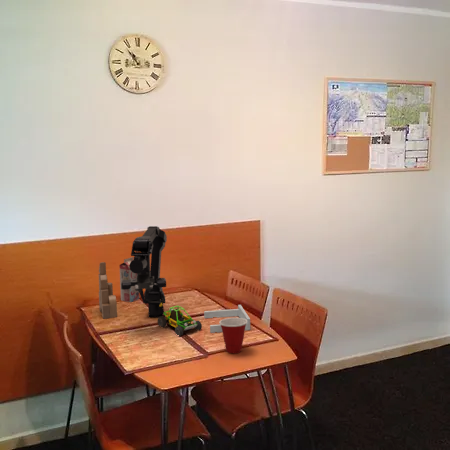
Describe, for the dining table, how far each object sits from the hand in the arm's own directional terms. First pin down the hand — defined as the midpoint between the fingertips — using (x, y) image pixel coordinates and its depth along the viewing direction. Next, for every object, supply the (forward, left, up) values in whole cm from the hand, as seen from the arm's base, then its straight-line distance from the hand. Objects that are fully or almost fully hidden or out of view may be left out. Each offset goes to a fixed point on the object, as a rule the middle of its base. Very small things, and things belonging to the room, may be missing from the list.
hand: (144, 302), depth 206 cm
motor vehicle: (+15, -1, -12) cm, 19 cm away
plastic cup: (+33, -29, -12) cm, 46 cm away
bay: (+35, 0, -12) cm, 37 cm away
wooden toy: (-17, +25, -12) cm, 32 cm away
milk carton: (-7, +44, -12) cm, 46 cm away
